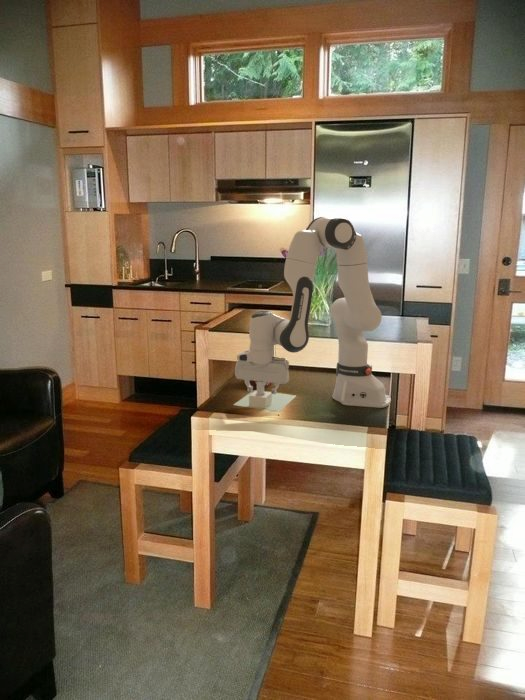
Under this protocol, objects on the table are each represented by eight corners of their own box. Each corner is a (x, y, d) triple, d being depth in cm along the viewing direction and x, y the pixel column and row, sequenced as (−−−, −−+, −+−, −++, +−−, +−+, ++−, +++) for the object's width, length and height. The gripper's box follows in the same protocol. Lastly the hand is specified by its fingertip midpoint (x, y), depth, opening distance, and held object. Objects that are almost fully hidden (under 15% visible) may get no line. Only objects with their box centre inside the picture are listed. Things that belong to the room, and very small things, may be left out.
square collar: (271, 403, 206) (271, 392, 205) (265, 408, 200) (265, 397, 199) (255, 400, 208) (255, 390, 207) (249, 405, 202) (249, 395, 201)
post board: (296, 399, 215) (297, 373, 212) (278, 415, 197) (279, 387, 194) (253, 393, 221) (254, 368, 219) (233, 408, 203) (233, 381, 201)
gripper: (291, 356, 199) (291, 393, 202) (239, 351, 206) (240, 386, 209) (285, 360, 193) (285, 398, 196) (232, 355, 200) (233, 391, 204)
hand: (261, 392), depth 203 cm, fingers open, 8 cm apart
